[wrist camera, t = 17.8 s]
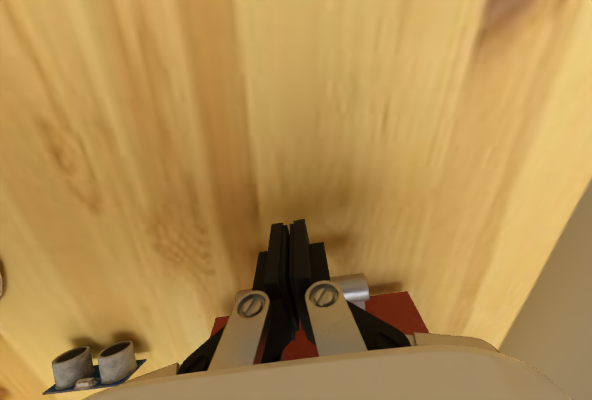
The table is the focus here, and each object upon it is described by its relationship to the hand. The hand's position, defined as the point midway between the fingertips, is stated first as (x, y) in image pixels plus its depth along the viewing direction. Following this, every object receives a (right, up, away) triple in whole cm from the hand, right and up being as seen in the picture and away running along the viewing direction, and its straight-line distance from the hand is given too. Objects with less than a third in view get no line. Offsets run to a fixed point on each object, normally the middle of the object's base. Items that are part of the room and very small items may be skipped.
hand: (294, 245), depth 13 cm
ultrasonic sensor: (-15, -10, +8) cm, 20 cm away
